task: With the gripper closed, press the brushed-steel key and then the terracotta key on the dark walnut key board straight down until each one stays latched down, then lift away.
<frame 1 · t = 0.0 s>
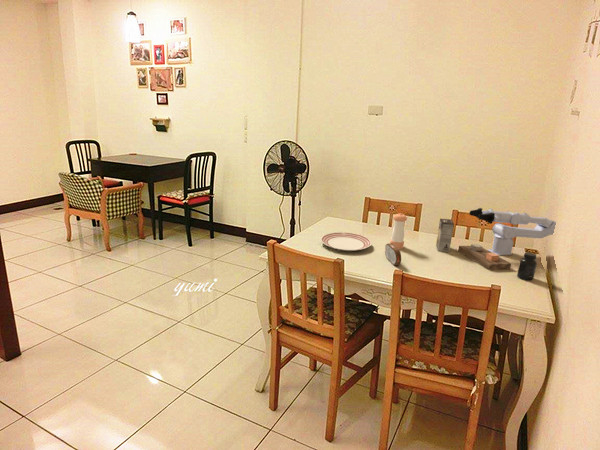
hand: (474, 214, 206), 22 cm above the table, tool horizontal, fingers open, 7 cm apart
dinner plate: (345, 245, 216), on the table
supplement bottle: (524, 278, 184), on the table
terracotta key: (492, 257, 197), point 4 cm above the table, slide at 0.0 cm
pepper shaker: (396, 246, 217), on the table
steel key: (476, 248, 209), point 4 cm above the table, slide at 0.0 cm
tin: (391, 262, 195), on the table
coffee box: (442, 249, 218), on the table
key board: (482, 259, 204), on the table
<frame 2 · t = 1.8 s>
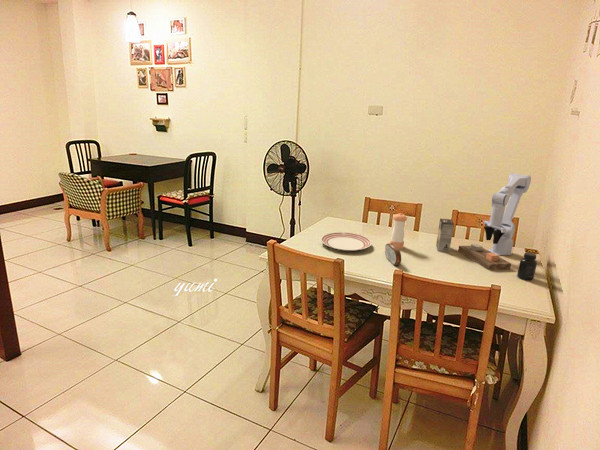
hand: (491, 241, 203), 9 cm above the table, tool pointing down, fingers open, 5 cm apart
nothing on the table moved.
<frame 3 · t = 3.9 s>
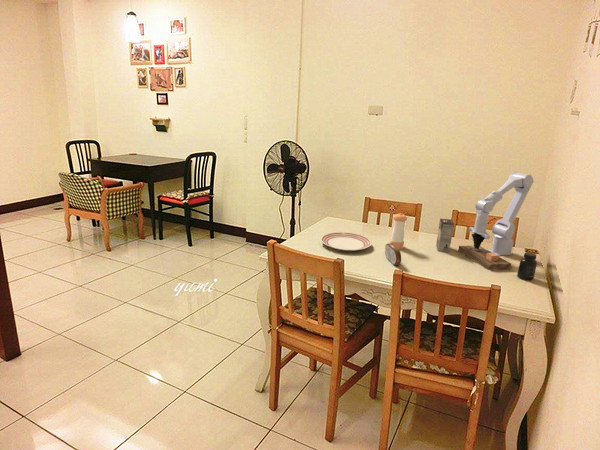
hand: (476, 247, 209), 4 cm above the table, tool pointing down, fingers closed, pressing on steel key
steel key: (476, 250, 210), point 3 cm above the table, slide at 1.2 cm, touching gripper
everything else where it was.
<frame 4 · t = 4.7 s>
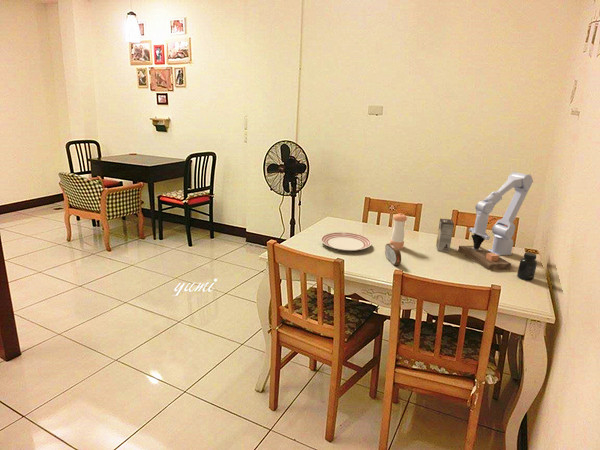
hand: (476, 248, 209), 4 cm above the table, tool pointing down, fingers closed
steel key: (475, 251, 210), point 2 cm above the table, slide at 1.7 cm
everything else where it was.
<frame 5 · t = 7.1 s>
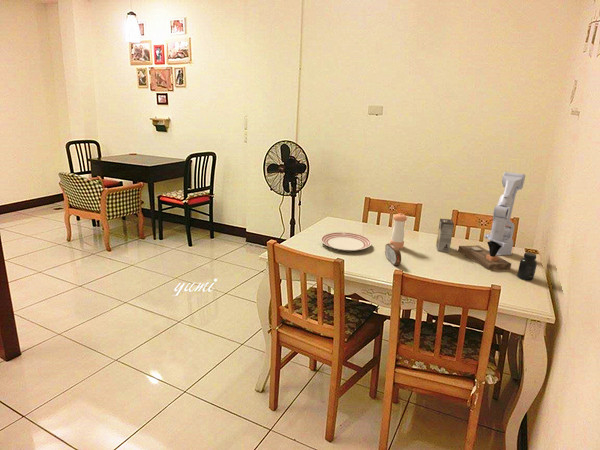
hand: (492, 256, 197), 5 cm above the table, tool pointing down, fingers closed, pressing on terracotta key
terracotta key: (491, 258, 197), point 3 cm above the table, slide at 0.9 cm, touching gripper
everything else where it was.
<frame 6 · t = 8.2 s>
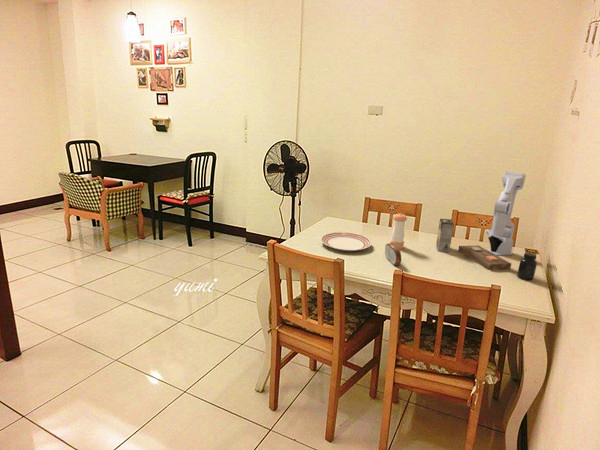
hand: (493, 251, 196), 7 cm above the table, tool pointing down, fingers closed
terracotta key: (491, 260, 198), point 2 cm above the table, slide at 1.7 cm
everything else where it was.
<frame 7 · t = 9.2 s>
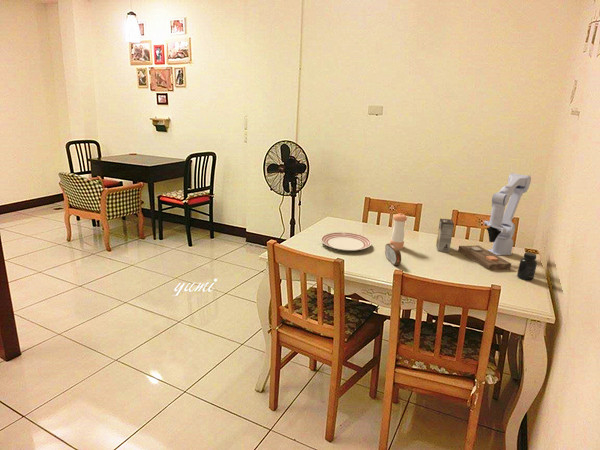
hand: (491, 241, 203), 9 cm above the table, tool pointing down, fingers closed
nothing on the table moved.
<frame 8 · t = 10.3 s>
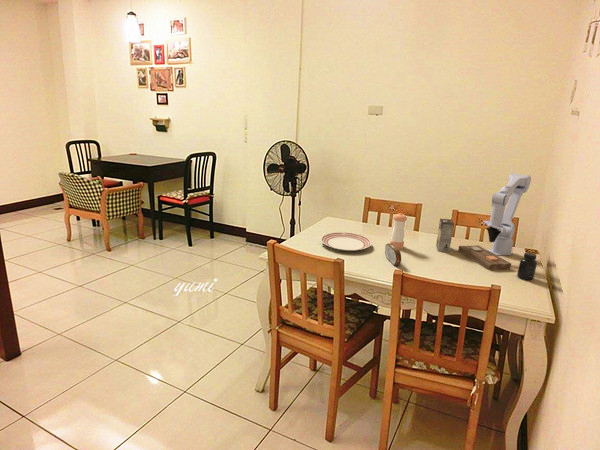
hand: (491, 241, 203), 9 cm above the table, tool pointing down, fingers closed
nothing on the table moved.
at the end: steel key slide at 1.7 cm; terracotta key slide at 1.7 cm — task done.
